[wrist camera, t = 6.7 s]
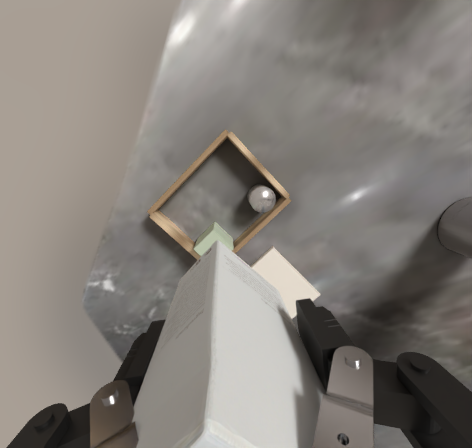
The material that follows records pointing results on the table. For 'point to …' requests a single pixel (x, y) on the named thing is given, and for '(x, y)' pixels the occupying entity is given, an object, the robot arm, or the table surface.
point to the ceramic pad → (284, 279)
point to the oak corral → (154, 211)
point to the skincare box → (228, 366)
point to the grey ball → (261, 198)
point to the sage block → (213, 239)
